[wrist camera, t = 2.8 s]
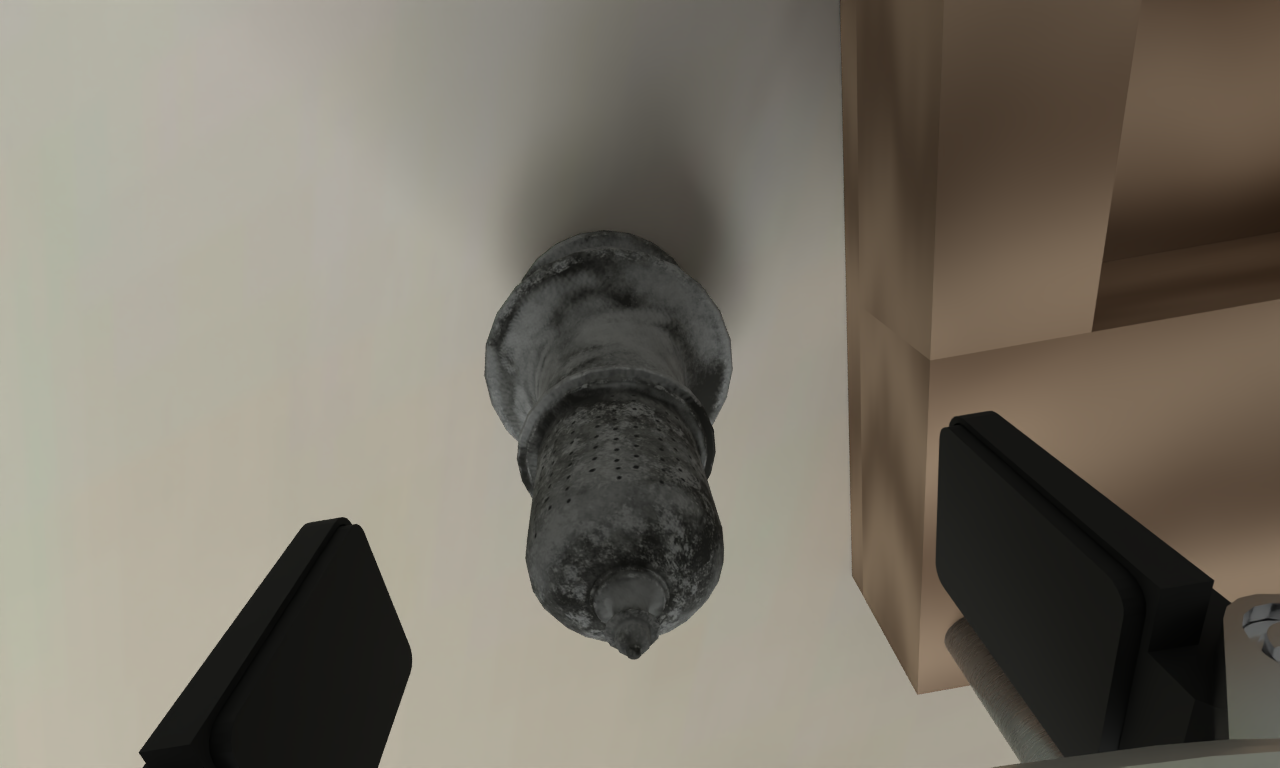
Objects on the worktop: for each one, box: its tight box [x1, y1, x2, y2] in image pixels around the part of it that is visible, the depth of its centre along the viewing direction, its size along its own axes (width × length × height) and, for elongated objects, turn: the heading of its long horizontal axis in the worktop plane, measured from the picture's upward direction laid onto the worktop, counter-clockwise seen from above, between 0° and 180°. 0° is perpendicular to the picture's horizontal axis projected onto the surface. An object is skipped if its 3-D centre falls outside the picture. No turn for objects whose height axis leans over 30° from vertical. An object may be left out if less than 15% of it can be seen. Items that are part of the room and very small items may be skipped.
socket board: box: [840, 0, 1280, 695], centre depth 16 cm, size 24×16×5 cm, turn 9°
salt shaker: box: [485, 231, 733, 659], centre depth 13 cm, size 6×6×12 cm
